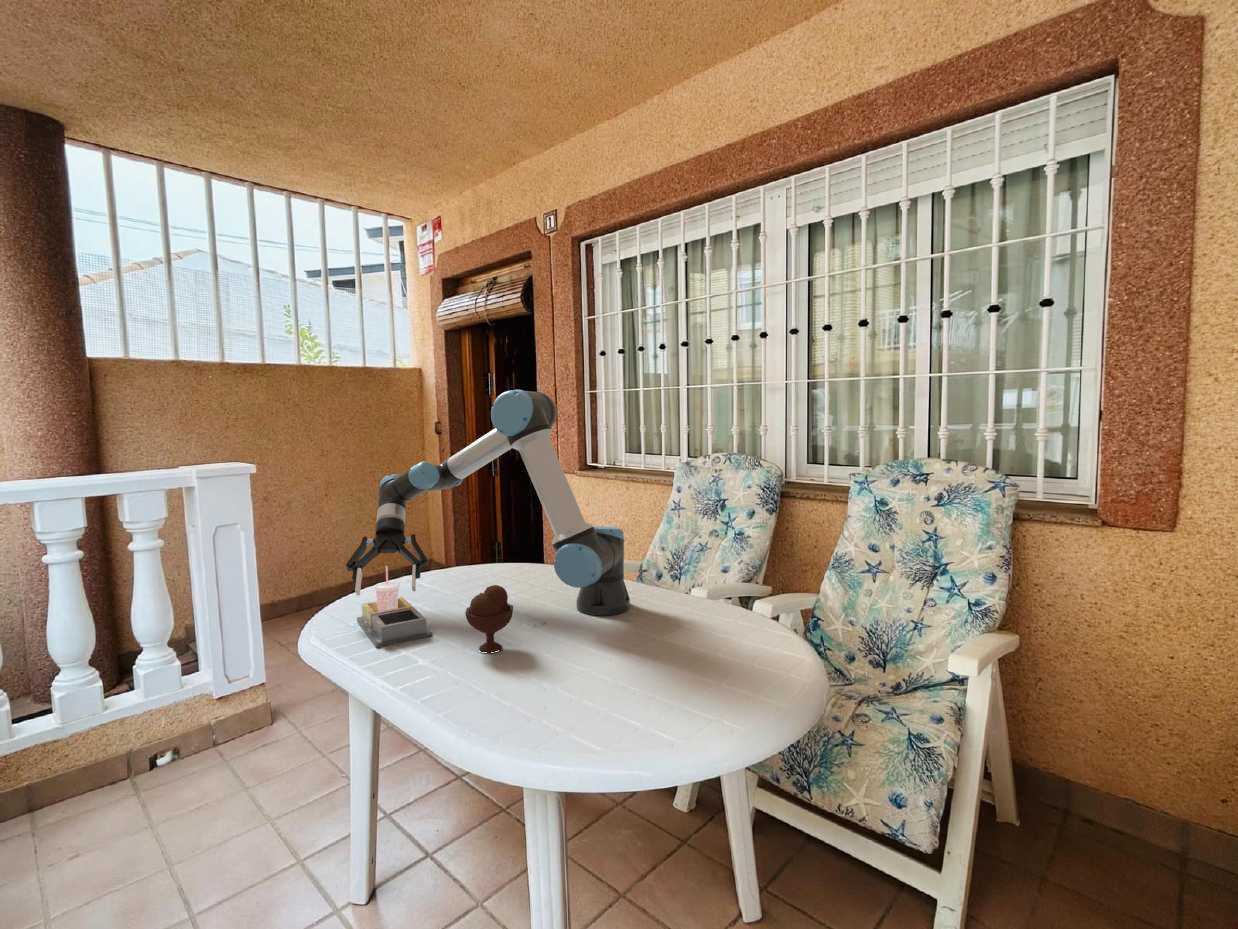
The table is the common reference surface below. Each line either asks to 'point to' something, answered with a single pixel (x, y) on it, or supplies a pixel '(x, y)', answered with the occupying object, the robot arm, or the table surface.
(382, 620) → the square compartment tray
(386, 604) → the beverage cup
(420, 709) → the table surface
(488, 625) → the ice cream bowl
